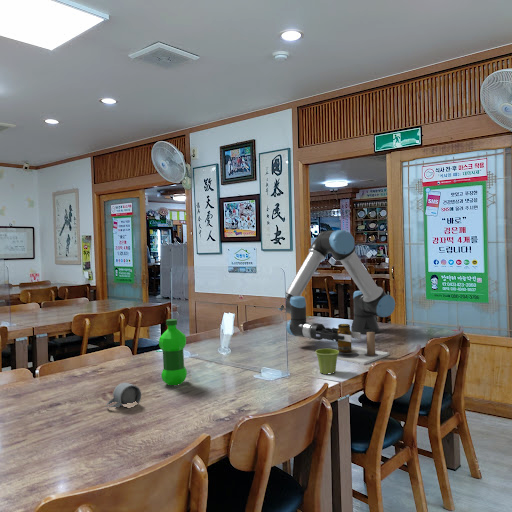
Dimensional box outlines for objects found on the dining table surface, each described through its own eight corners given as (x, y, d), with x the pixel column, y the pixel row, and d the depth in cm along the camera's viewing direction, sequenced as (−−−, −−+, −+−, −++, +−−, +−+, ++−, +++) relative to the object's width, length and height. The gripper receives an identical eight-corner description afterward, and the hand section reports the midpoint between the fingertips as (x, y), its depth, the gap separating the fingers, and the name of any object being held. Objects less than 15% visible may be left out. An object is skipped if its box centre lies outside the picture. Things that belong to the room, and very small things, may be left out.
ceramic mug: (132, 399, 167) (130, 378, 167) (142, 405, 161) (140, 383, 160) (103, 407, 160) (101, 385, 160) (112, 414, 154) (110, 391, 154)
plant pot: (340, 369, 192) (340, 348, 192) (338, 376, 183) (337, 354, 183) (317, 369, 195) (317, 348, 194) (314, 375, 186) (313, 354, 185)
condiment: (344, 348, 217) (343, 322, 216) (358, 351, 210) (358, 324, 209) (333, 351, 212) (332, 325, 211) (348, 354, 205) (347, 327, 205)
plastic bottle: (158, 382, 185) (155, 319, 184) (185, 378, 189) (182, 316, 188) (163, 389, 176) (159, 323, 175) (191, 385, 180) (187, 320, 179)
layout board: (354, 348, 225) (353, 325, 224) (389, 354, 212) (388, 330, 211) (328, 357, 211) (327, 333, 211) (363, 364, 198) (363, 338, 197)
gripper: (327, 335, 231) (367, 341, 214) (301, 342, 217) (343, 350, 201) (326, 320, 230) (367, 325, 213) (301, 326, 217) (342, 332, 200)
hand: (355, 337), depth 207 cm, fingers closed on condiment, 6 cm apart
